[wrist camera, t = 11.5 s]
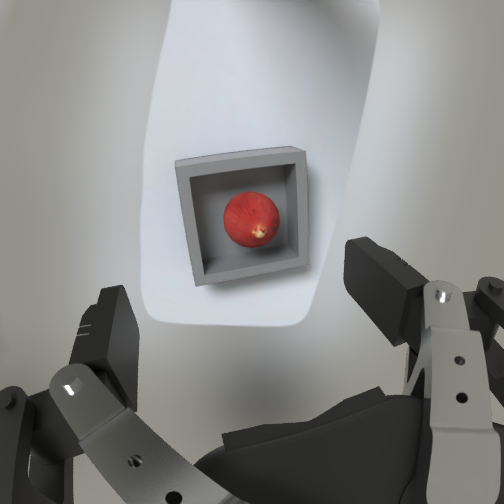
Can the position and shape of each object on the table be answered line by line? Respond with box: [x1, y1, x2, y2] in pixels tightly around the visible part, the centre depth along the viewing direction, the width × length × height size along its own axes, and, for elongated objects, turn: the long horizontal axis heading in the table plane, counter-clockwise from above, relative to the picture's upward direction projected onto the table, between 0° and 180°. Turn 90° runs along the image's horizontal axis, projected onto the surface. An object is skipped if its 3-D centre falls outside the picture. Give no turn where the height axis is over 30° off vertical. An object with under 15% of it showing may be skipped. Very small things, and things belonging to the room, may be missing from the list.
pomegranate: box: [223, 191, 280, 248], centre depth 33 cm, size 6×6×8 cm
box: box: [175, 146, 308, 286], centre depth 35 cm, size 13×13×4 cm
